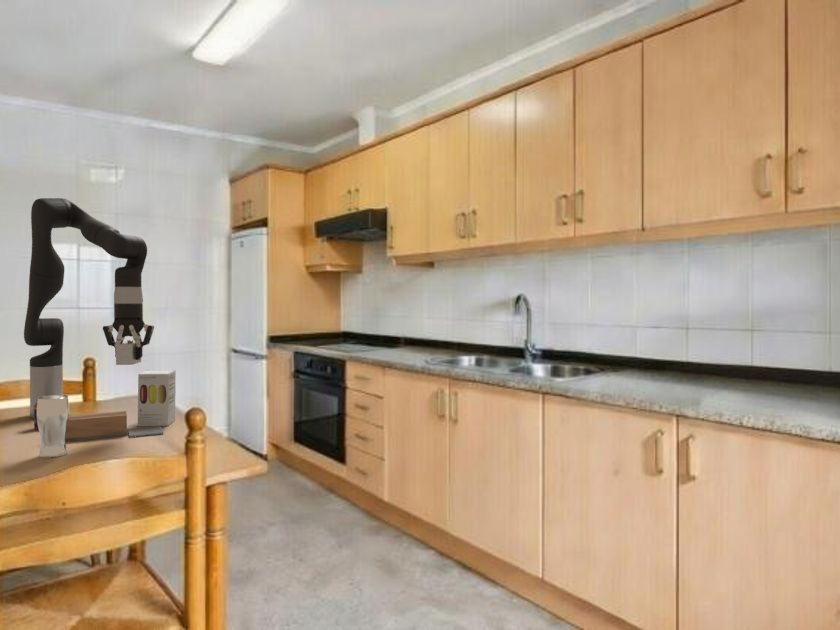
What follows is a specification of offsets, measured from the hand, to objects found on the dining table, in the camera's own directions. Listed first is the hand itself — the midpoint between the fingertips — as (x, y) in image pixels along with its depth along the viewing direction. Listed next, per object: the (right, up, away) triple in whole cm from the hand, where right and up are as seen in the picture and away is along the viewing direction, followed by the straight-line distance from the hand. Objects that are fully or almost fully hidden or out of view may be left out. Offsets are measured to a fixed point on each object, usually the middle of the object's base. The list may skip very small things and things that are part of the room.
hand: (129, 359), depth 161 cm
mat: (+3, -22, +3) cm, 23 cm away
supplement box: (+1, -22, +15) cm, 27 cm away
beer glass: (-8, -23, -21) cm, 32 cm away
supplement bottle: (-30, -22, +6) cm, 38 cm away
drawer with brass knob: (0, -1, 0) cm, 1 cm away
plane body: (-10, -22, -3) cm, 24 cm away
